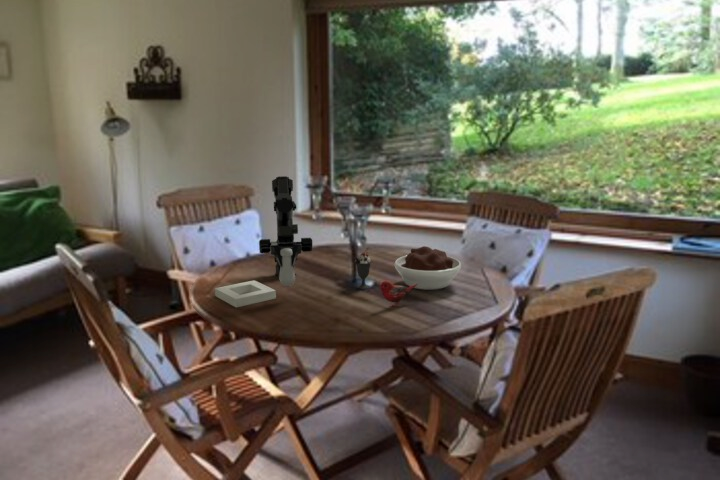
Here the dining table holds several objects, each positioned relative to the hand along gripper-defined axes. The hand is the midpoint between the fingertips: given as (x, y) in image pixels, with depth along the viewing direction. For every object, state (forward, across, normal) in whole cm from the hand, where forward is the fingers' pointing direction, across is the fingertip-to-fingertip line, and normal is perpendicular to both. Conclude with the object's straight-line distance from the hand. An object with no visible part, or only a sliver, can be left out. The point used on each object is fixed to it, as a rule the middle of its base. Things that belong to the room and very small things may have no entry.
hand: (286, 266), depth 226 cm
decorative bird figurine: (+16, +38, +3) cm, 42 cm away
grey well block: (+4, -15, +15) cm, 21 cm away
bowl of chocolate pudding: (+2, +53, +18) cm, 56 cm away
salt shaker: (+4, 0, +6) cm, 7 cm away
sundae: (0, +29, +19) cm, 35 cm away
